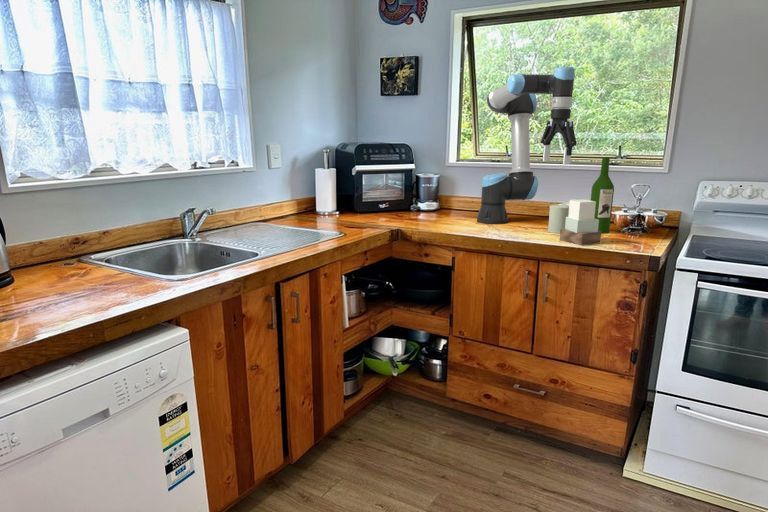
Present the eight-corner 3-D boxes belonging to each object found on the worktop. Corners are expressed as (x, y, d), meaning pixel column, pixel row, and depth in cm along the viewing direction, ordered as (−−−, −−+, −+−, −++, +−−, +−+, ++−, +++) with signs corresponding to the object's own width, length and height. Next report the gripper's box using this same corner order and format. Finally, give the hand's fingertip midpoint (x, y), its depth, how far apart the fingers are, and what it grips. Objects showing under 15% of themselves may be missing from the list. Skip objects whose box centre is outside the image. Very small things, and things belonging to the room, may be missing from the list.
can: (570, 234, 214) (573, 206, 212) (548, 233, 216) (551, 206, 213) (567, 230, 223) (570, 203, 220) (546, 229, 225) (548, 203, 222)
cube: (568, 217, 200) (569, 200, 199) (583, 216, 202) (585, 199, 200) (578, 219, 194) (580, 202, 192) (594, 219, 195) (595, 201, 193)
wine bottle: (594, 233, 214) (602, 158, 207) (583, 230, 223) (590, 157, 215) (613, 233, 216) (622, 157, 208) (601, 229, 224) (609, 156, 216)
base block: (559, 241, 202) (560, 229, 201) (577, 238, 207) (579, 227, 206) (581, 246, 193) (582, 234, 192) (600, 243, 198) (601, 231, 197)
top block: (564, 228, 202) (565, 216, 201) (584, 228, 204) (586, 216, 203) (576, 233, 194) (578, 220, 193) (597, 232, 195) (599, 219, 194)
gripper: (534, 108, 206) (530, 160, 212) (573, 108, 184) (567, 165, 189) (550, 108, 209) (545, 159, 214) (590, 108, 186) (583, 165, 191)
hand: (556, 162), depth 202 cm, fingers open, 13 cm apart
